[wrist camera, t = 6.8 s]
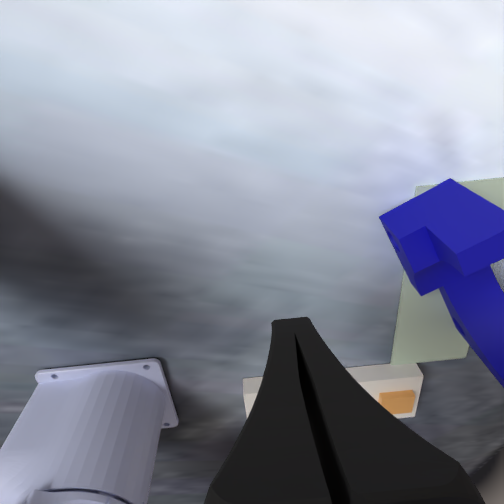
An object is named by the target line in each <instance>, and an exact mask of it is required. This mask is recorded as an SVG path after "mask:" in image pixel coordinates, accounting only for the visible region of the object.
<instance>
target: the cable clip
mask: <svg viewBox="0 0 504 504" xmlns="http://www.w3.org/2000/svg"><path fill="white" fill-rule="evenodd" d="M379 218H380V220H381V222H382V224H383V227H384V229H385V231H386V233H387V235H388V237H389V239H390V241H391V243H392V245H393V247H394V249H395V251H396V253H397V255H398V258H399V260H400V262H401V264H402V266H403V268H404V270H405V272H406V274H407V276H408V278H409V280H410V282H411V284H412V285H413V287H414V288H415V289H416V291H417V292H418V293H419V294H420V296H423V295H425V294H428V293H430V292H432V291H434V290H436V289H438V288H439V290H440V293H441V295H442V297H443V300H444V302H445V304H446V306H447V309H448V311H449V313H450V316H451V318H452V320H453V322H454V325H455V327H456V329H457V330H458V331H459V333H460V334H461V335H462V336H463V338H464V339H465V340H466V341H467V343H468V344H469V345H470V346H471V348H472V349H473V350H474V351H475V353H476V354H477V355H478V356H479V358H480V359H481V360H482V361H483V363H484V364H485V365H486V366H487V368H488V369H489V370H490V371H491V373H492V374H493V375H494V376H495V378H496V379H497V380H498V381H499V383H500V384H501V385H502V386H503V388H504V293H503V291H502V289H501V288H500V286H499V284H498V282H497V280H496V278H495V276H494V273H493V271H492V268H491V266H490V265H491V264H493V263H495V262H497V261H499V260H501V259H503V258H504V210H503V209H501V208H500V207H498V206H496V205H494V204H493V203H491V202H489V201H488V200H486V199H484V198H483V197H481V196H479V195H478V194H476V193H474V192H472V191H471V190H469V189H467V188H466V187H464V186H462V185H461V184H459V183H457V182H456V181H454V180H452V179H448V180H446V181H444V182H442V183H440V184H439V185H437V186H435V187H433V188H431V189H429V190H428V191H426V192H424V193H422V194H420V195H418V196H417V197H415V198H413V199H411V200H409V201H407V202H405V203H403V204H402V205H400V206H398V207H396V208H394V209H392V210H391V211H389V212H387V213H385V214H383V215H381V216H380V217H379Z"/></svg>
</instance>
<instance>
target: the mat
mask: <svg viewBox="0 0 504 504" xmlns="http://www.w3.org/2000/svg"><path fill="white" fill-rule="evenodd" d="M457 183H459V184H461V185H462V186H464V187H466V188H467V189H469V190H471V191H472V192H474V193H476V194H478V195H479V196H481V197H483V198H484V199H486V200H488V201H489V202H491V203H493V204H494V205H496V206H498V207H500V208H501V209H503V210H504V177H503V178H493V179H484V180H474V181H465V182H457ZM437 185H439V184H436V185H427V186H417V187H416V191H415V197H417V196H418V195H420V194H422V193H424V192H426V191H428V190H429V189H431V188H433V187H435V186H437ZM490 266H491V268H492V267H493V264H491V265H490ZM468 348H469V344H468V343H467V341H466V340H465V339H464V338H463V336H462V335H461V334H460V333H459V331H458V330H457V329H456V327H455V325H454V322H453V320H452V318H451V316H450V313H449V311H448V309H447V306H446V304H445V302H444V300H443V297H442V295H441V293H440V290H439V288H438V289H436V290H434V291H432V292H430V293H428V294H425V295H423V296H420V294H419V293H418V292H417V291H416V289H415V288H414V287H413V285H412V284H411V282H410V280H409V278H408V276H407V274H406V272H405V270H404V273H403V280H402V287H401V294H400V301H399V308H398V314H397V321H396V328H395V335H394V342H393V349H392V355H391V362H390V364H391V365H400V364H410V363H420V362H430V361H439V360H449V359H459V358H466V355H467V352H468Z"/></svg>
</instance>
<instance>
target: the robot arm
mask: <svg viewBox="0 0 504 504" xmlns="http://www.w3.org/2000/svg"><path fill="white" fill-rule="evenodd" d="M271 324H272V337H271V345H270V351H269V355H268V360H267V364H266V368H265V371H264V375H263V378H262V382H261V385H260V388H259V391H258V394H257V396H256V399H255V402H254V404H253V407H252V409H251V411H250V414H249V416H248V418H247V420H246V423H245V425H244V427H243V429H242V431H241V433H240V435H239V437H238V439H237V441H236V442H235V444H234V446H233V448H232V450H231V452H230V454H229V455H228V457H227V459H226V461H225V462H224V464H223V465H222V467H221V469H220V470H219V472H218V473H217V475H216V477H215V478H214V480H213V481H212V483H211V484H210V487H209V490H208V493H207V496H206V499H205V502H204V504H485V502H484V500H483V498H482V497H481V495H480V493H479V491H478V489H477V488H476V486H475V485H474V483H473V482H472V480H471V479H470V477H469V476H468V475H467V473H466V472H465V470H464V469H463V468H462V466H461V465H460V463H459V462H457V461H456V460H454V459H453V458H451V457H450V456H448V455H447V454H445V453H444V452H442V451H441V450H439V449H438V448H436V447H435V446H433V445H432V444H430V443H429V442H427V441H426V440H425V439H423V438H422V437H420V436H419V435H418V434H416V433H415V432H414V431H412V430H411V429H410V428H408V427H407V426H406V425H405V424H403V423H402V422H401V421H400V420H399V419H397V418H396V417H395V416H394V415H392V414H391V413H390V412H389V411H388V410H386V409H385V408H384V407H383V406H382V405H381V404H380V403H379V402H377V401H376V400H375V399H374V398H373V397H372V396H371V395H370V394H369V393H368V392H367V391H366V390H365V389H364V388H363V387H362V386H361V385H360V384H359V383H358V382H357V381H356V380H355V379H354V378H353V377H352V376H351V374H350V373H349V372H348V371H347V370H346V369H345V368H344V367H343V365H342V364H341V363H340V362H339V361H338V359H337V358H336V357H335V356H334V354H333V353H332V352H331V350H330V349H329V348H328V346H327V345H326V344H325V342H324V341H323V340H322V338H321V337H320V335H319V334H318V332H317V331H316V329H315V327H314V326H313V324H312V322H311V320H310V319H309V318H308V317H300V318H291V319H281V320H274V321H273V322H272V323H271ZM147 365H149V366H147ZM35 379H36V380H37V382H38V386H37V387H36V389H35V391H34V393H33V394H32V396H31V398H30V399H29V401H28V403H27V405H26V406H25V408H24V410H23V411H22V413H21V415H20V417H19V418H18V420H17V422H16V423H15V425H14V427H13V429H12V430H11V432H10V434H9V435H8V437H7V439H6V441H5V442H4V444H3V446H2V447H1V449H0V504H147V500H148V495H149V489H150V484H151V479H152V474H153V468H154V463H155V458H156V452H157V447H158V442H159V437H160V431H161V428H171V427H176V426H177V425H178V422H179V419H178V416H177V413H176V410H175V407H174V403H173V400H172V397H171V394H170V391H169V388H168V384H167V381H166V378H165V375H164V372H163V368H162V365H161V362H160V361H159V360H158V359H155V358H152V359H142V360H132V361H123V362H113V363H103V364H94V365H84V366H74V367H64V368H55V369H45V370H39V371H38V372H37V373H36V375H35Z"/></svg>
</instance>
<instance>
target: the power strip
mask: <svg viewBox="0 0 504 504" xmlns="http://www.w3.org/2000/svg"><path fill="white" fill-rule="evenodd" d="M345 369H346V370H347V371H348V372H349V373H350V374H351V376H352V377H353V378H354V379H355V380H356V381H357V382H358V383H359V384H360V385H361V386H362V387H363V388H364V389H365V390H366V391H367V392H368V393H369V394H370V395H371V396H372V397H373V398H374V399H375V400H376V401H377V402H379V403H380V404H381V405H382V406H383V407H384V408H385V409H386V410H388V411H389V412H390V413H391V414H392V415H394V416H395V417H396V418H406V417H415V413H416V409H417V404H418V399H419V395H420V390H421V386H422V381H423V377H424V376H423V374H422V372H421V370H420V369H419V367H418V365H417V364H416V363H410V364H400V365H391V364H381V365H371V366H361V367H351V368H345ZM262 378H263V377H254V378H244V379H243V395H244V402H245V408H246V414H247V418H248V416H249V414H250V411H251V409H252V407H253V404H254V402H255V399H256V396H257V394H258V391H259V388H260V385H261V382H262Z"/></svg>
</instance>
